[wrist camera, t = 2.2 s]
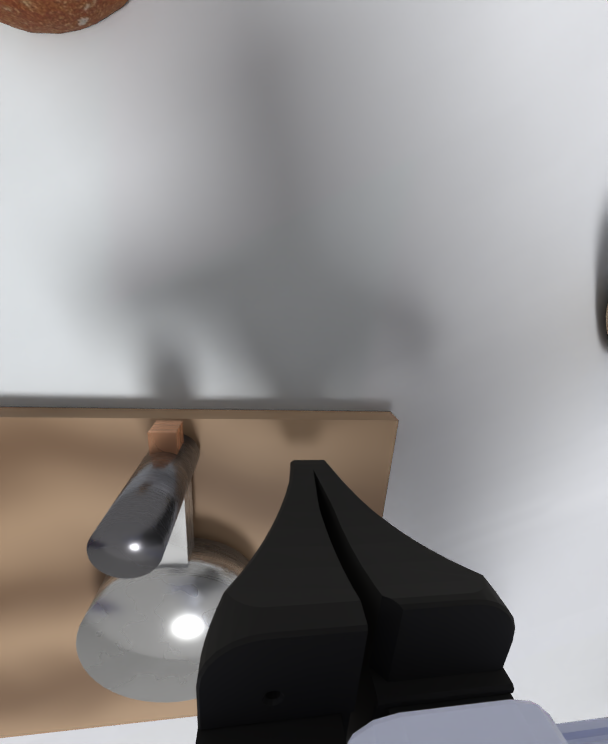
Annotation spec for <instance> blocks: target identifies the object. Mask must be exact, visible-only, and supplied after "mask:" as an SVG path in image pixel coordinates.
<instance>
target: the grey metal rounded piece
mask: <svg viewBox="0 0 608 744" xmlns="http://www.w3.org/2000/svg"><path fill="white" fill-rule="evenodd" d="M147 434H148V445H149V451H148V452H147V454H146V455H145V457H144V458H143V460H142V461H141V463H140V464H139V466H138V467H137V469H136V470H135V472H134V473H133V474H132V476H131V477H130V479H129V480H128V482H127V483H126V485H125V486H124V488H123V489H122V491H121V492H120V494H119V495H118V497H117V498H116V500H115V501H114V503H113V504H112V506H111V507H110V509H109V510H108V512H107V513H106V515H105V516H104V518H103V519H102V520H101V522H100V523H99V525H98V526H97V528H96V529H95V531H94V532H93V534H92V535H91V537H90V538H89V540H88V543H87V555H88V558H89V560H90V562H91V563H92V565H93V566H94V567H95V568H96V569H98V570H99V571H101V572H102V573H104V574H106V577H105V579H104V581H103V582H102V584H101V586H100V588H99V590H98V592H97V594H96V596H95V597H94V599H93V601H92V603H91V605H90V607H89V609H88V611H87V612H86V614H85V616H84V618H83V620H82V622H81V624H80V626H79V629H78V632H77V637H76V649H77V654H78V657H79V660H80V662H81V664H82V666H83V668H84V669H85V670H86V672H87V673H88V674H89V675H90V676H91V677H92V678H93V679H94V680H95V681H96V682H97V683H99V684H100V685H102V686H103V687H105V688H106V689H108V690H110V691H112V692H114V693H117V694H119V695H122V696H124V697H128V698H131V699H135V700H141V701H147V702H165V703H167V702H180V701H187V700H192V699H196V683H197V677H198V670H199V663H200V656H201V652H202V648H203V644H204V641H205V637H206V634H207V631H208V629H209V626H210V623H211V621H212V618H213V616H214V613H215V611H216V609H217V606H218V604H219V602H220V599H221V597H222V595H223V593H224V592H225V590H226V589H227V588H228V587H229V586H230V585H231V583H232V582H233V581H234V580H235V579H236V578H237V576H238V575H239V574H240V573H241V572H242V571H243V569H244V568H245V567H246V565H247V564H248V563H249V560H248V559H247V558H246V557H245V556H244V555H242V554H241V553H240V552H238V551H237V550H235V549H233V548H231V547H229V546H227V545H225V544H222V543H219V542H216V541H213V540H208V539H204V538H195V537H194V526H193V505H192V483H191V479H192V476H193V474H194V471H195V468H196V465H197V463H198V460H199V456H200V452H199V448H198V445H197V444H196V442H195V441H194V440H193V439H192V438H190V437H189V436H187V435H185V434H183V421H158V420H157V421H156V422H155V423H154V424H153V426H152V427H151V428H150V430H149V431H148V432H147Z"/></svg>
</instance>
